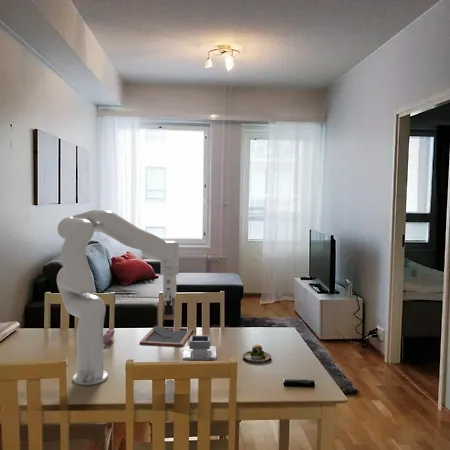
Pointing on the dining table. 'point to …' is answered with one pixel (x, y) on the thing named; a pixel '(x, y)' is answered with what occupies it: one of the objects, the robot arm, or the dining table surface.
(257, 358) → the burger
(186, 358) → the cup bracket
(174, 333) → the picture frame
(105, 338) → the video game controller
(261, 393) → the dining table surface
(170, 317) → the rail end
